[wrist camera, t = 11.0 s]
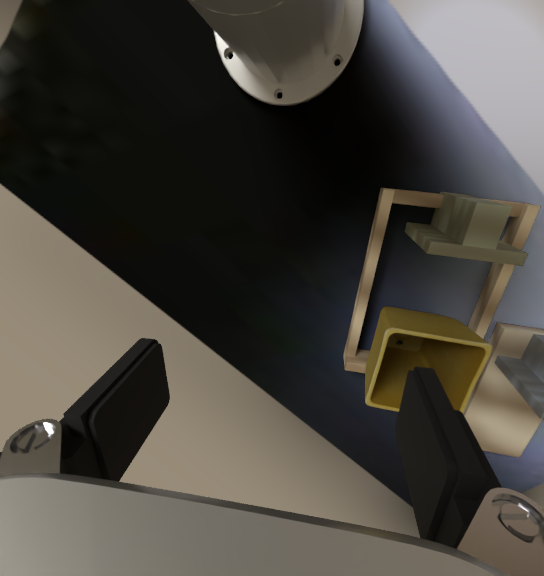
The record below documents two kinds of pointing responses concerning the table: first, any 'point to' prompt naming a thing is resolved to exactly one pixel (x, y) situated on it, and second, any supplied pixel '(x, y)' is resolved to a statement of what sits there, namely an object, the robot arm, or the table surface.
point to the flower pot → (422, 356)
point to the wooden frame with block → (449, 249)
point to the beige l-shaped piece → (509, 391)
